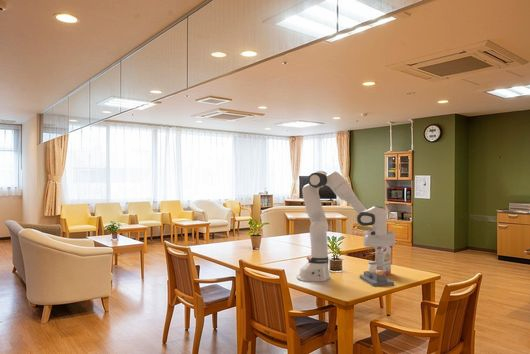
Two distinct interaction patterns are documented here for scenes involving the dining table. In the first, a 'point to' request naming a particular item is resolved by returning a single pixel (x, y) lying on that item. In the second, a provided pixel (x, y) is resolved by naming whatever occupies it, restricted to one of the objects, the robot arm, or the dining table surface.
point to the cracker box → (384, 260)
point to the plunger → (379, 272)
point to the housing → (376, 279)
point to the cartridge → (372, 267)
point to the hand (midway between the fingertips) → (379, 253)
